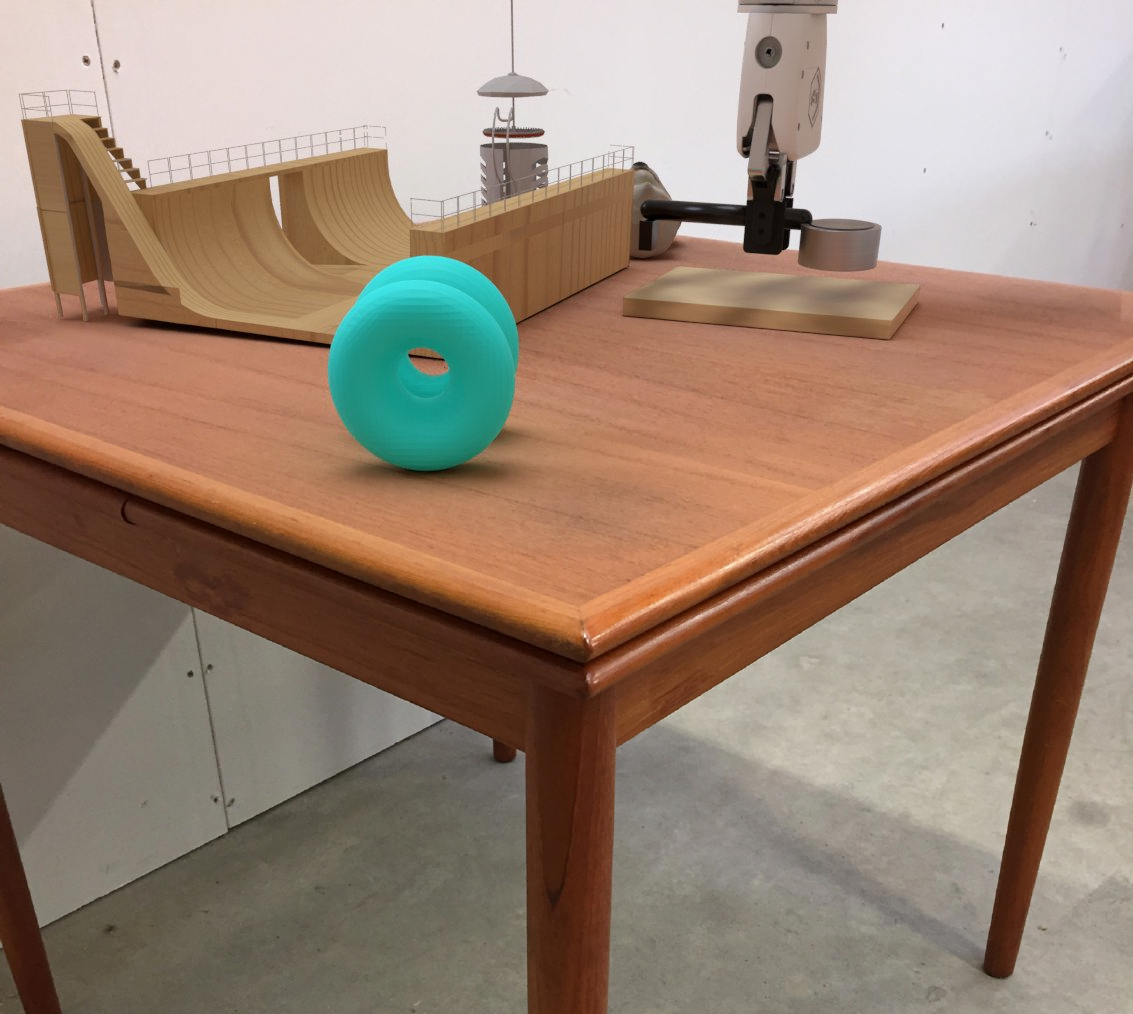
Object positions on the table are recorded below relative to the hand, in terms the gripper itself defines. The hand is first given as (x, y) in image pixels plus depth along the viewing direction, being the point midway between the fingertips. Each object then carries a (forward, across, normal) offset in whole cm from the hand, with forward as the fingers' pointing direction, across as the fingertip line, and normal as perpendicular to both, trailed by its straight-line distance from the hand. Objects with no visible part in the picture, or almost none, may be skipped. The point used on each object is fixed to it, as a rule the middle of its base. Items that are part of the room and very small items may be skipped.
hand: (765, 249), depth 102 cm
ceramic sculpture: (+5, +23, +19) cm, 30 cm away
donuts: (+5, -46, +8) cm, 46 cm away
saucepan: (+1, 0, +1) cm, 1 cm away
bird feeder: (+5, +34, +38) cm, 51 cm away
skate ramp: (+5, -7, +34) cm, 35 cm away
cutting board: (+5, 0, -1) cm, 5 cm away
